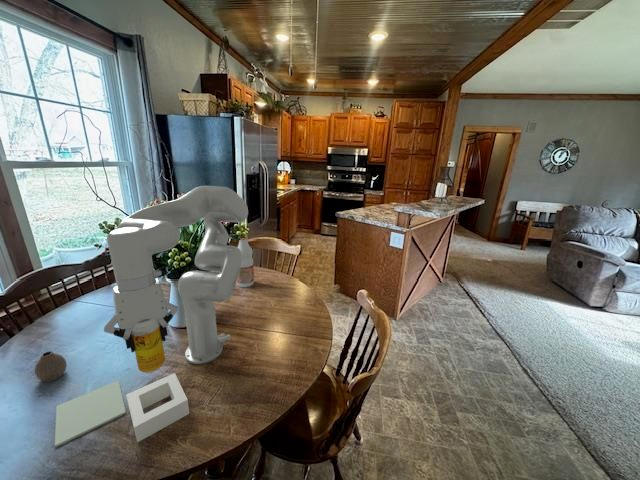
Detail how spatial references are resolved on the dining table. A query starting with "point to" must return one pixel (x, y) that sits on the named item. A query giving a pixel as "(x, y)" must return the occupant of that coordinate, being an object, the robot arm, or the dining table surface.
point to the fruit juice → (245, 264)
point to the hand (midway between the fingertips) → (148, 343)
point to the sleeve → (161, 414)
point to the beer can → (148, 346)
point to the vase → (50, 367)
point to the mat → (88, 412)
